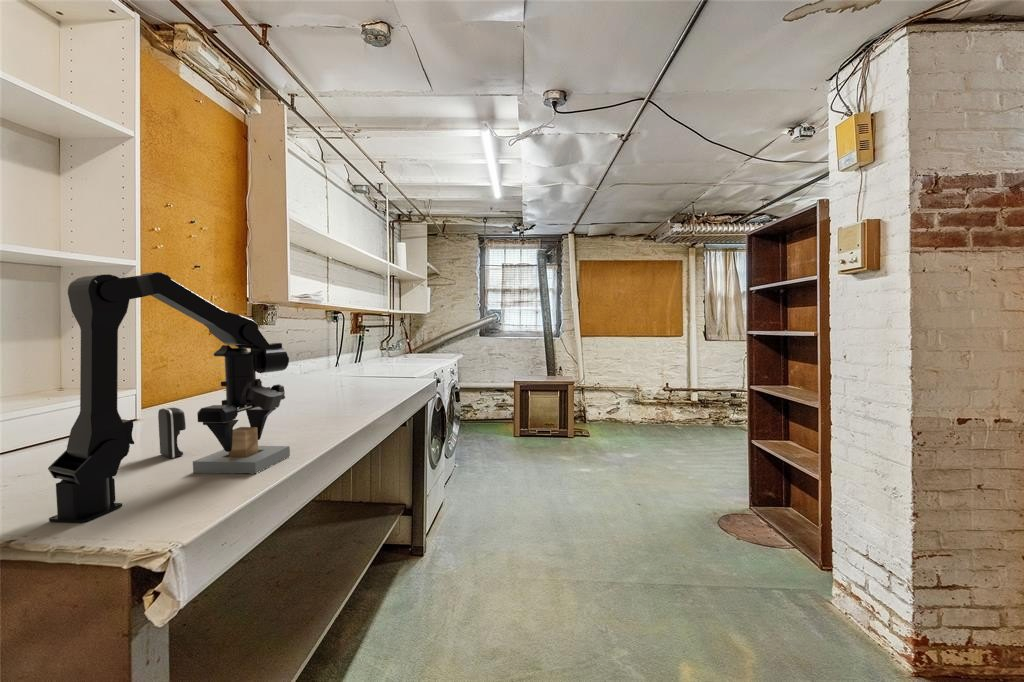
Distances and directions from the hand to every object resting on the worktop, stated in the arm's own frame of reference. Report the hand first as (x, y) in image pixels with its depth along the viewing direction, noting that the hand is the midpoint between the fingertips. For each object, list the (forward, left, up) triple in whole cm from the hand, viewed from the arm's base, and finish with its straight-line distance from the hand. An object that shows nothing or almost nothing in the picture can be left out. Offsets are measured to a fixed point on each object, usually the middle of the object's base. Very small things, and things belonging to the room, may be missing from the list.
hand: (243, 445), depth 98 cm
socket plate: (0, 0, -4) cm, 4 cm away
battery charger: (+6, +23, -4) cm, 24 cm away
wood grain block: (0, 0, -4) cm, 4 cm away
